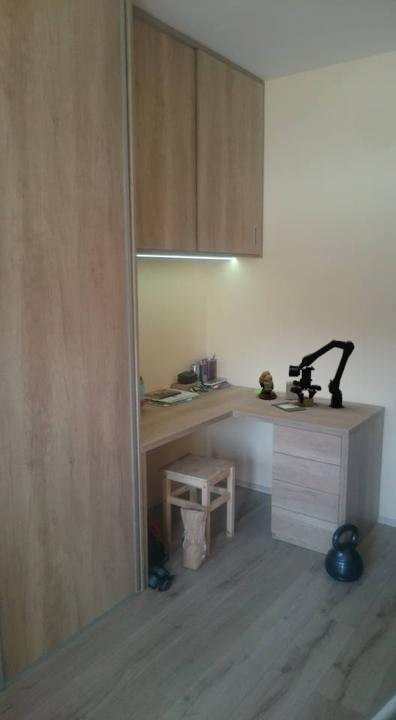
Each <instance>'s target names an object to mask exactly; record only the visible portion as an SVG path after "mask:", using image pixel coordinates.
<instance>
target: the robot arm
mask: <svg viewBox="0 0 396 720" xmlns="http://www.w3.org/2000/svg"><path fill="white" fill-rule="evenodd" d="M334 348H337V349H340V350H342V353H341V357H340V361H339V363H338V366H337V369H336V371H335V374H334V377H333V379H331V378H330V379H329V383H328V385H327V388H328V392H329V394H331V395H330V397H331V398H330V404H328V407H330V408H331V407H332V408H335V409H339V408H340V409H341V408H345V405H343V400H344V399H343V391H342V390H341V389H340V386H341V379H342V377H343V373H344V371H345V369H346V365H347V363H348V361H349V358H350V357H351V355H352V353H353V352H354V350H355V344H354V342H353V341H352V340H346V341H344V340H336V339H331V341H330V342H328V343H327V344H324V346H321V347H320V348H319V349H317V350H316V351H314V352H312V353H309V354H307V355H304V356H303V357H302V359H301V362H300V363H299V364H298V365H293V364H290V365H289V367H288V377H289V378H290V377H291V378H299V377H300V376H301V378H299V380H300V381H297V380H298V379H297V380H294V381H293V386H296V387H291V389H290V392H292V393H295V394H297V395H298V397H299V400H300V403H301V404H302V403H303V397H304V396H305V393H304V391H307V392H308V398H311V399H314V397H315V395H316V394H317V393H318V392H321V391H322V386H321V385H319V384H312V382H313V379H312V371H315V369H316V368H315V367H314V366H313V364H314V362H316V360H318V358H320V357H321V356H323V355H325V354H327V353H328V352H330V351H331V350H332V349H334ZM299 387H301V388H299Z"/></svg>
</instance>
